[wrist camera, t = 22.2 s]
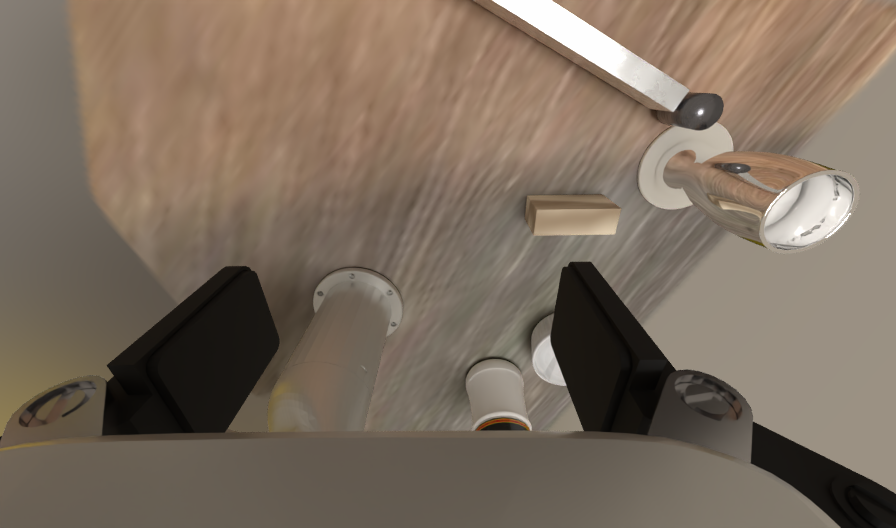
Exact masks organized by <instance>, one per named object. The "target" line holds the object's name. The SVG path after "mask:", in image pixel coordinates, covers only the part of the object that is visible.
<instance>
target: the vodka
mask: <svg viewBox="0 0 896 528" xmlns="http://www.w3.org/2000/svg"><path fill="white" fill-rule="evenodd" d="M466 390H467V394H468V396H469V401H470V406H471V413H472V430H471V431H532V427H531V424H530V422H529V420H528V416H527V412H526V406H525V400H524V392H523V390H524V382H523V377H522V374H521V372H520V370H519V369H518V368H517V367H516V366H515V365H514V364H512V363H511V362H509V361H506V360H502V359H489V360H485V361H482V362H479V363H478V364H476V365H475V366H473V367H472V368H471V370H470V371H469V373H468V375H467V377H466Z"/></svg>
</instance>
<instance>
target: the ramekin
mask: <svg viewBox="0 0 896 528" xmlns="http://www.w3.org/2000/svg"><path fill="white" fill-rule="evenodd" d="M553 317H554V313H553V314H551V315H549V316H547V317H545V318H544V319H543V320H541V321H540V322H539V323H538V324H537V326H536V327H535V329H534V330H533V333H532V337H531V348H532V352H531V362H532V365H533V368H534V370H535V372H536V373H537V375H538V376H539V377H541V378H542V379H543V380H545V381H547V382H549V383H552V384H556V385H561V386H566V383H565V380H564V378H563V375H562V373H561V370H560V367H559V365H558V362H557V360H556V357H555V354H554V352H553V349H552V346H551V342H550V335H551V329H552V323H553Z"/></svg>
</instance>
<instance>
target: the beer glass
mask: <svg viewBox="0 0 896 528" xmlns="http://www.w3.org/2000/svg"><path fill="white" fill-rule="evenodd" d="M655 180H656V183H657V185H658V187H659V188H660V189H661V190H662V191H663V192H665V193H667V194H670V195H674V196H680V197H683V198H686V199H687V200H689V201H690V202H691V203H692V204H694V205H695V206H696V207H697V208H698V209H699V210H700V211H701V212H702V213H703V214H704V215H706V216H707V217H708V218H709V219H710V220H712V221H713V222H714V223H716V224H717V225H719V226H720V227H722V228H724V229H725V230H727V231H729V232H731V233H733V234H735V235H737V236H739V237H741V238H743V239H746V240H748V241H750V242H753V243H755V244H758V245H760V246H763V247H765V248H767V249H769V250H771V251H773V252H776V253H782V254H790V253H798V252H802V251H805V250H808V249H811V248H813V247H815V246H817V245H819V244H821V243H823V242H825V241H826V240H828V239H829V238H831V237H832V236H833V235H834V234H836V233H837V232H838V231H839V230H840V229H841V228H842V227H843V226H844V225H845V224H846V222H847V221H848V220H849V219H850V217H851V216H852V214H853V213H854V211H855V209H856V207H857V204H858V201H859V196H860V189H859V185H858V182H857V181H856V179H855V178H854V177H853V176H852V175H851V174H849V173H847V172H844V171H841V170H835V169H832V168H829V167H826V166H823V165H820V164H817V163H814V162H811V161H808V160H804V159H800V158H796V157H793V156H788V155H782V154H777V153H769V152H755V151H721V150H717V149H714V148H713V147H711V146H710V145H708V144H706V143H704V142H702V141H698V140H688V141H684V142H681V143H679V144H677V145H675V146H673V147H672V148H671V149H669V150H668V151H667V152H666V153H665V154H664V155H663V157H662V158H661V159H660V161H659V163H658V165H657V168H656V172H655Z"/></svg>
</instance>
